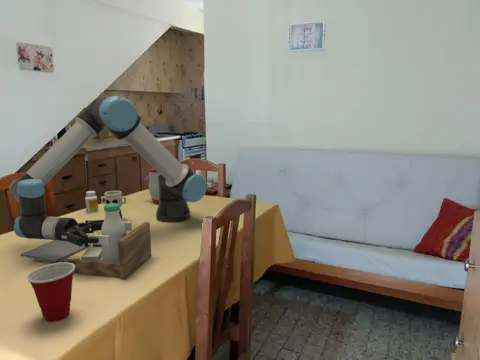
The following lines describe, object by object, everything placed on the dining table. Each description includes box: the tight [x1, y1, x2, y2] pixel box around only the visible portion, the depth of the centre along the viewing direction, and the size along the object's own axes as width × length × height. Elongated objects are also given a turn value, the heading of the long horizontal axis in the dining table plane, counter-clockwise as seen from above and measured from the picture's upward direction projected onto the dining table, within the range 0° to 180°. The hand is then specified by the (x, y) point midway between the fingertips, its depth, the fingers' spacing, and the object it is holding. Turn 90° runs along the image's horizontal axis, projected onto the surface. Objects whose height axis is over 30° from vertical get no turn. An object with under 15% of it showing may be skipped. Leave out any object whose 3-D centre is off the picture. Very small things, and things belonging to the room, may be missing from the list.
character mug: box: [100, 190, 127, 220], centre depth 175 cm, size 11×7×13 cm, turn 89°
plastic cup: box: [25, 261, 75, 322], centre depth 98 cm, size 11×11×12 cm
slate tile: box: [19, 240, 92, 264], centre depth 142 cm, size 16×16×1 cm
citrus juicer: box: [144, 167, 159, 205], centre depth 207 cm, size 16×17×20 cm
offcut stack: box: [80, 246, 103, 262], centre depth 132 cm, size 7×10×4 cm
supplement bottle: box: [84, 190, 99, 214], centre depth 191 cm, size 5×5×10 cm
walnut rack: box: [64, 221, 152, 280], centre depth 129 cm, size 20×18×12 cm
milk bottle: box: [100, 203, 127, 263], centre depth 128 cm, size 8×8×20 cm
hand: (121, 233), depth 127 cm, fingers open, 13 cm apart
